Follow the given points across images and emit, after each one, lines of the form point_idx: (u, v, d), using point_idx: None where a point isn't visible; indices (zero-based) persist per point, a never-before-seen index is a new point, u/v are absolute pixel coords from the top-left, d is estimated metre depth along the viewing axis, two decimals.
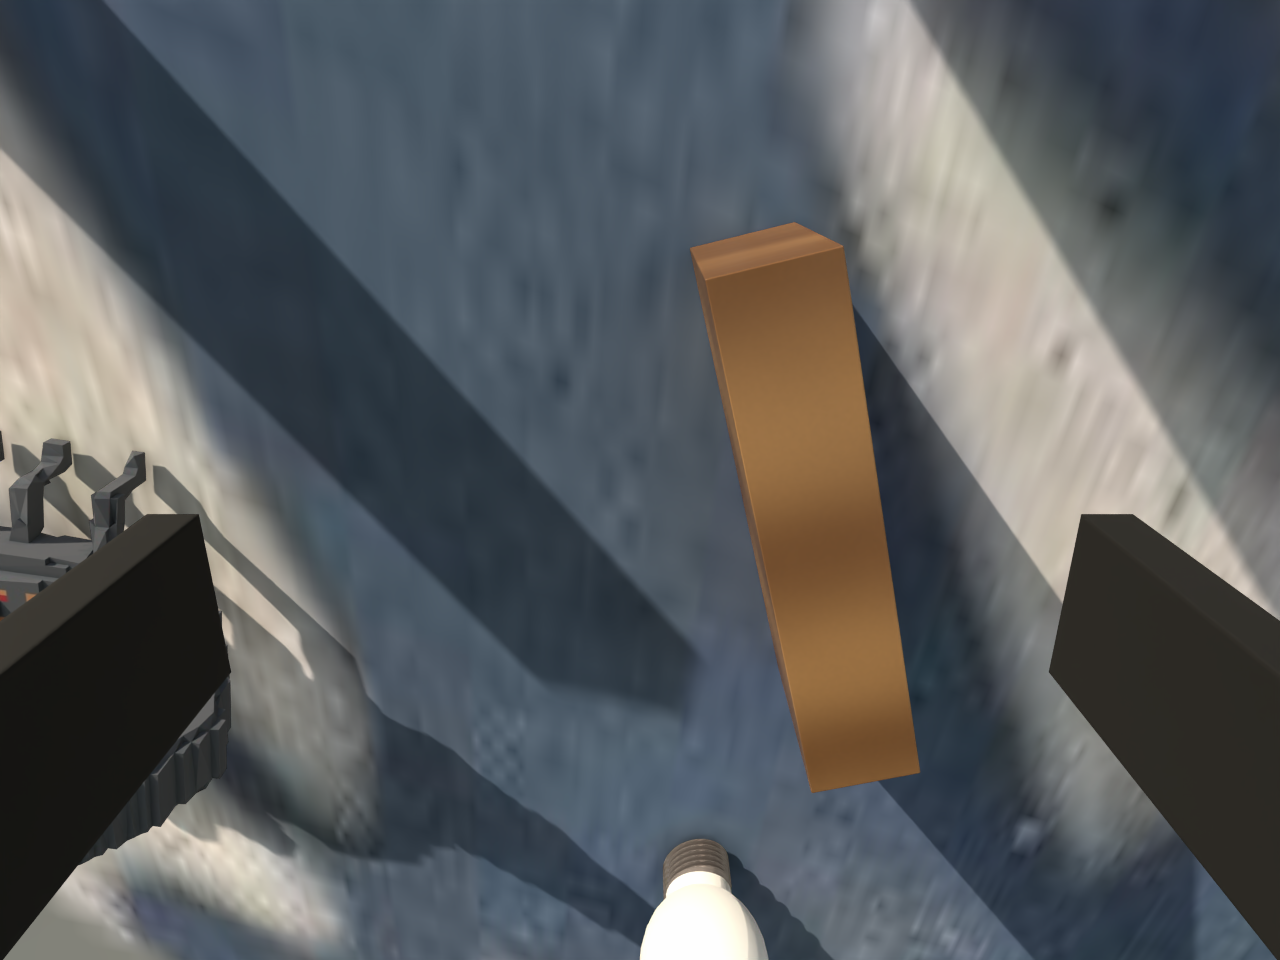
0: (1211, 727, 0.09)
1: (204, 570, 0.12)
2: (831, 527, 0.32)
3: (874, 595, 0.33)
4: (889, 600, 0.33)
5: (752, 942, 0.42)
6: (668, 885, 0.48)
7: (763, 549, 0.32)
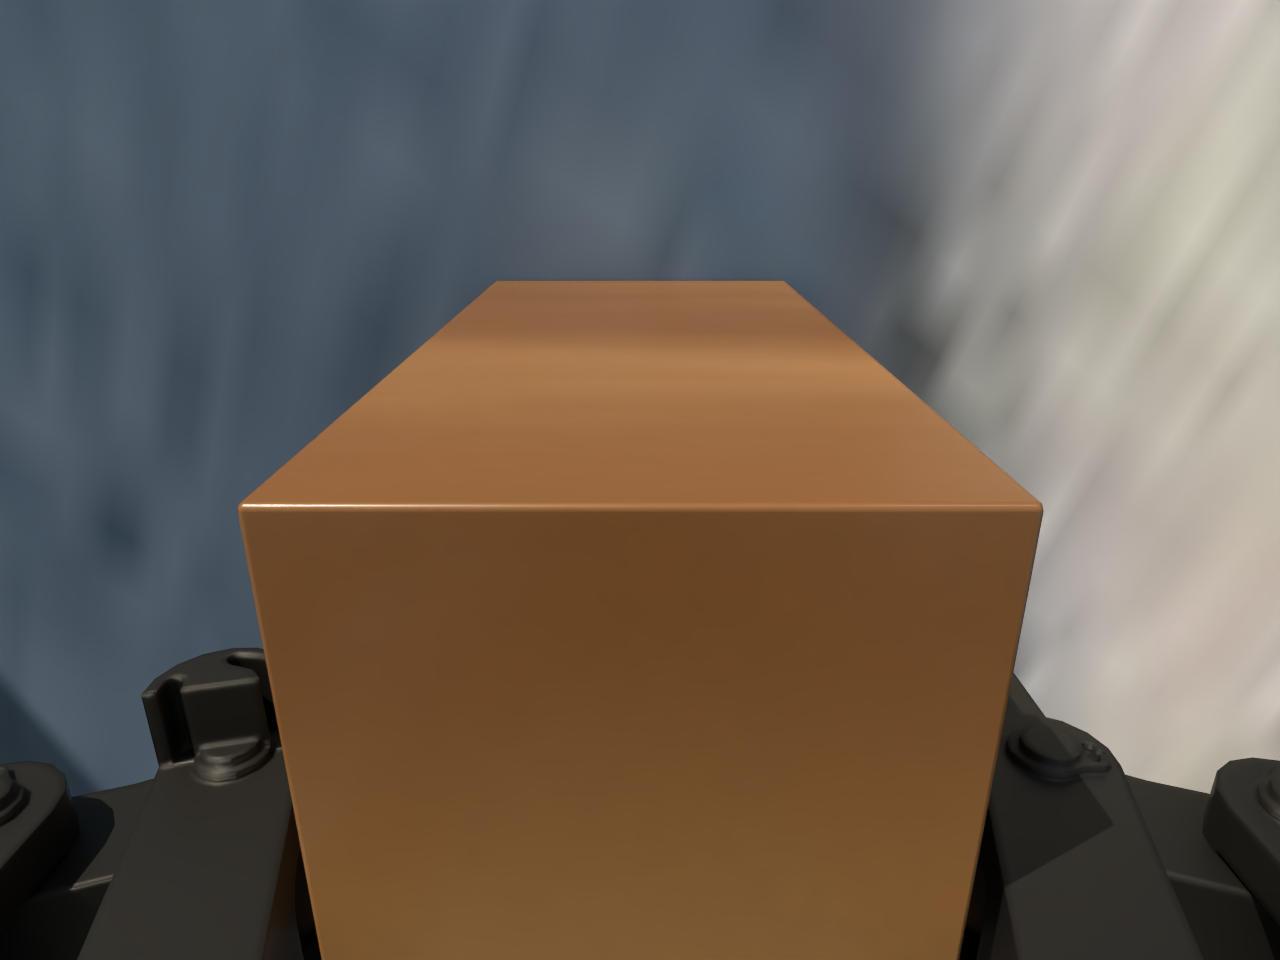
0: None
1: None
2: None
3: None
4: None
5: None
6: None
7: None
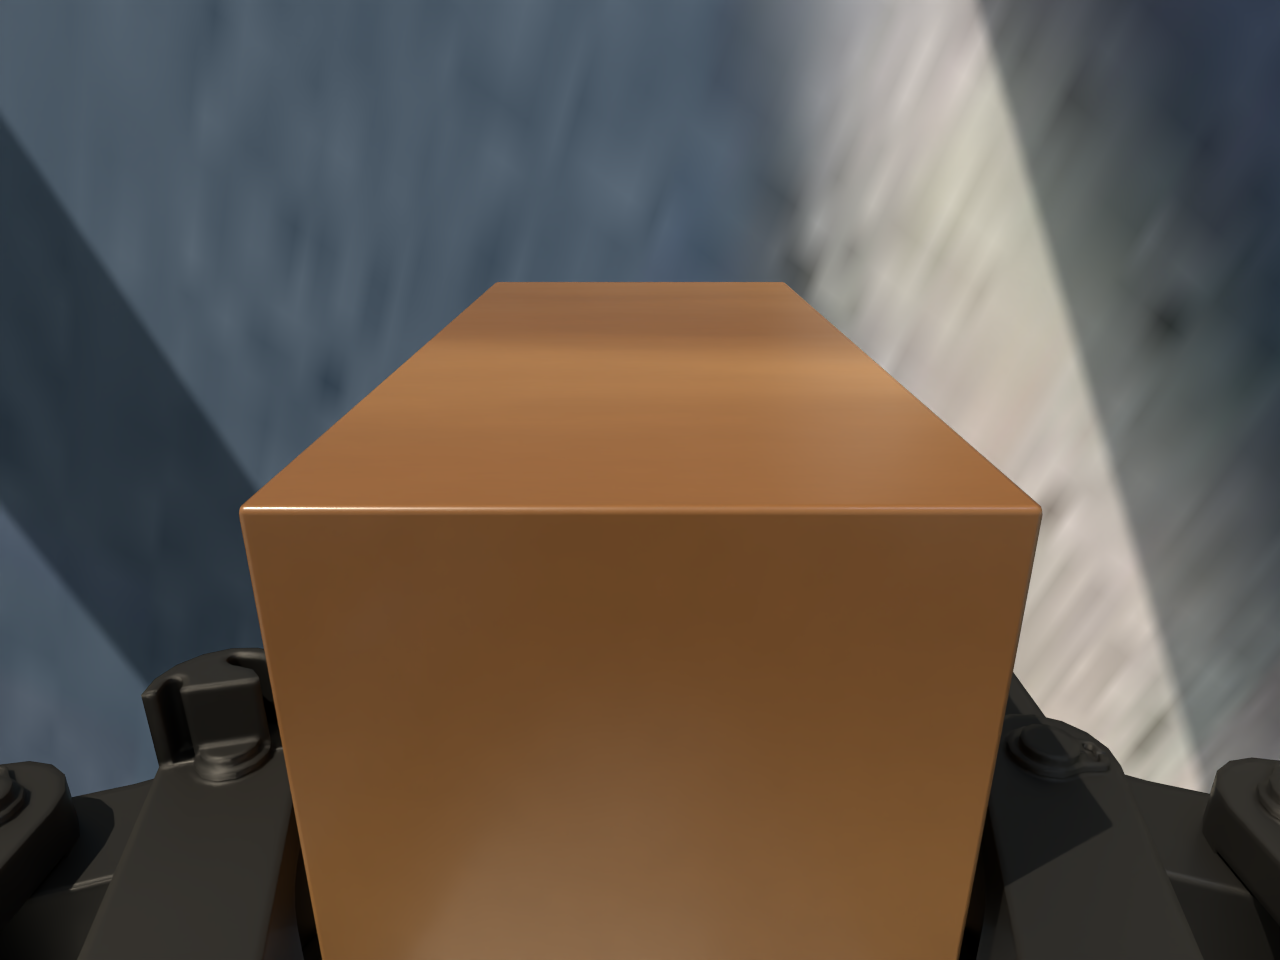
0: None
1: None
2: None
3: None
4: None
5: None
6: None
7: None
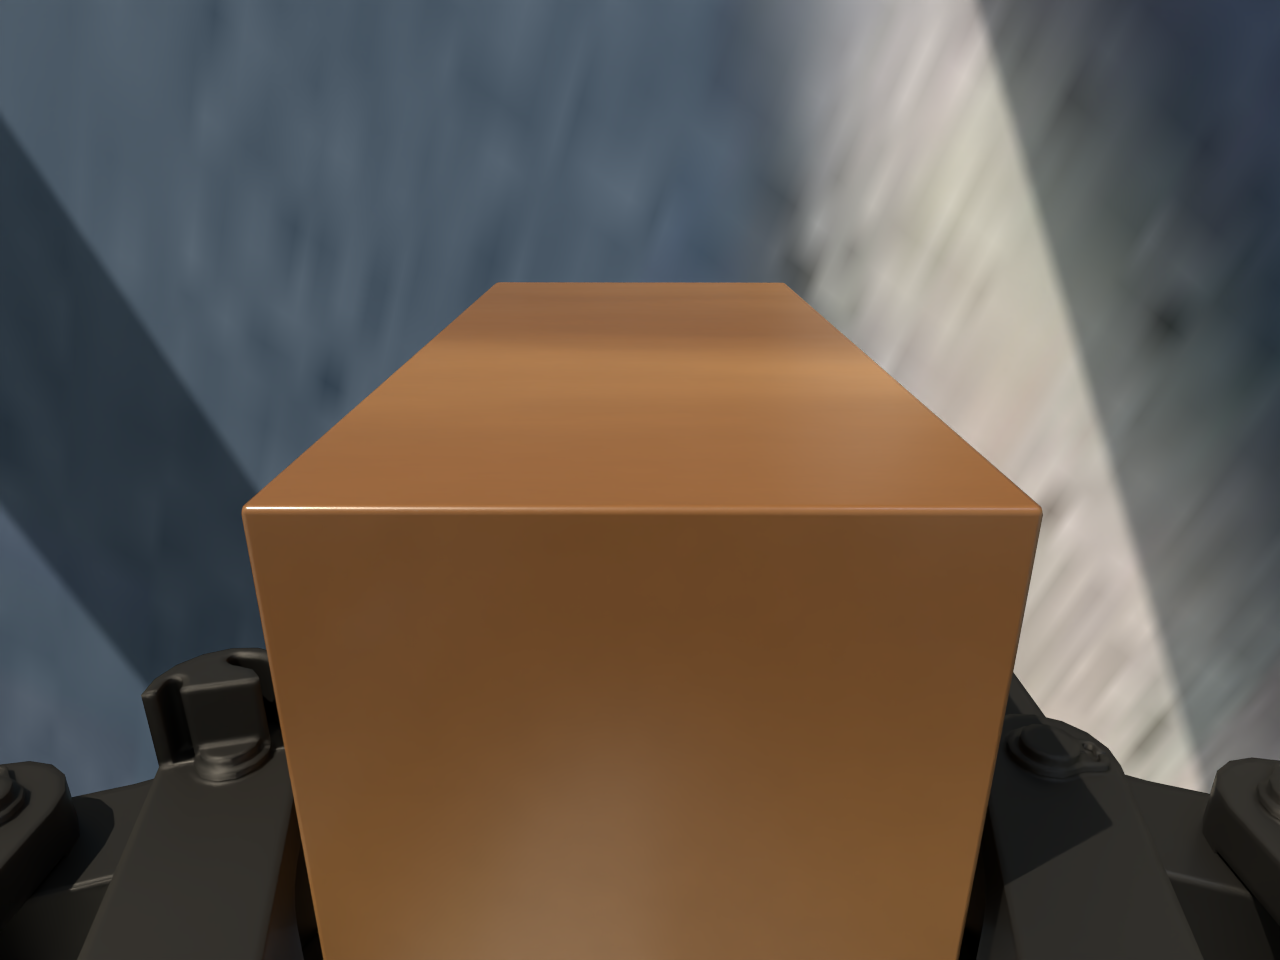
0: None
1: None
2: None
3: None
4: None
5: None
6: None
7: None
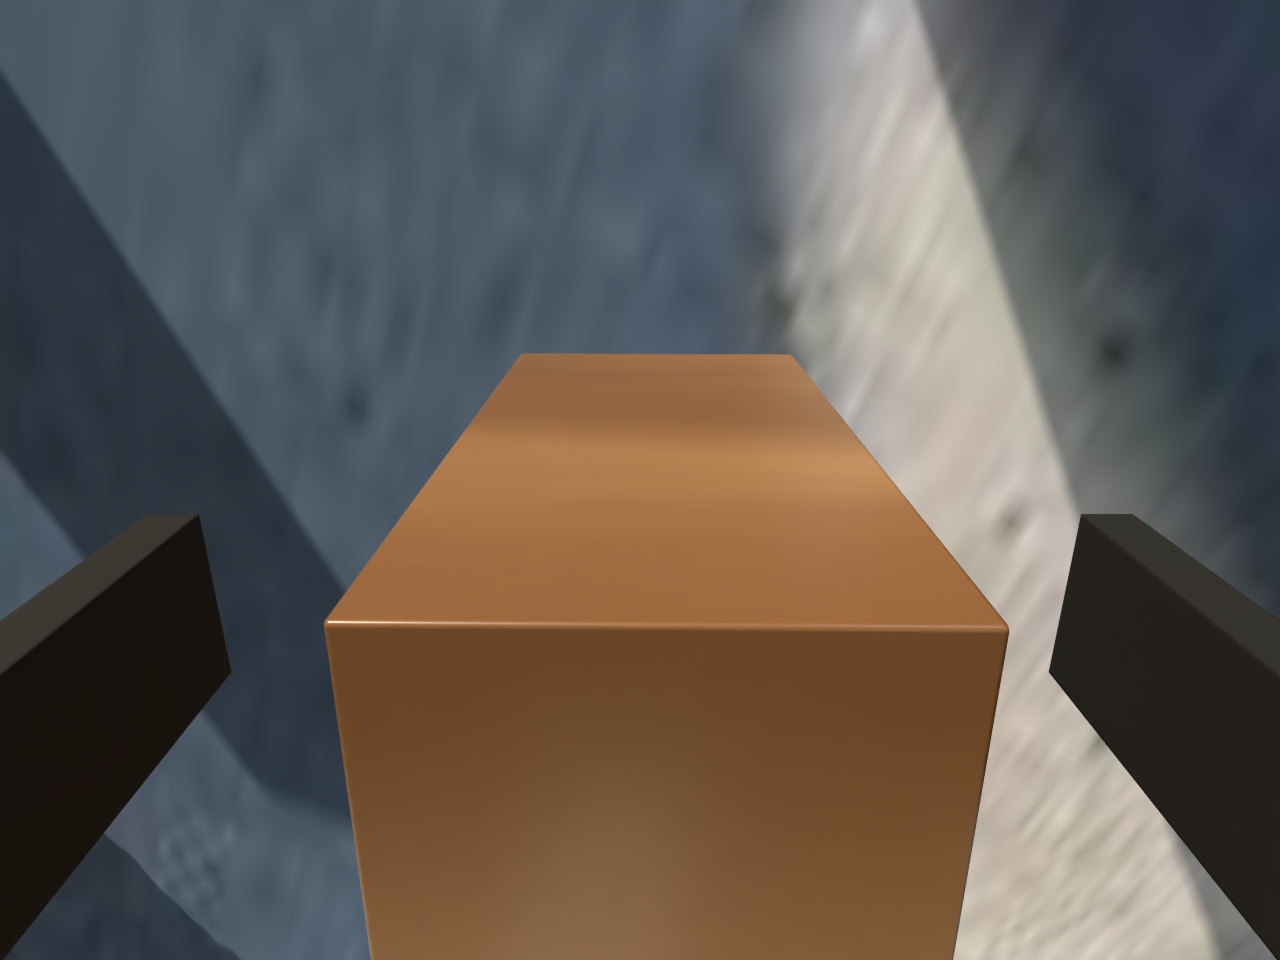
0: (1210, 727, 0.09)
1: (204, 571, 0.12)
2: None
3: None
4: None
5: None
6: None
7: None
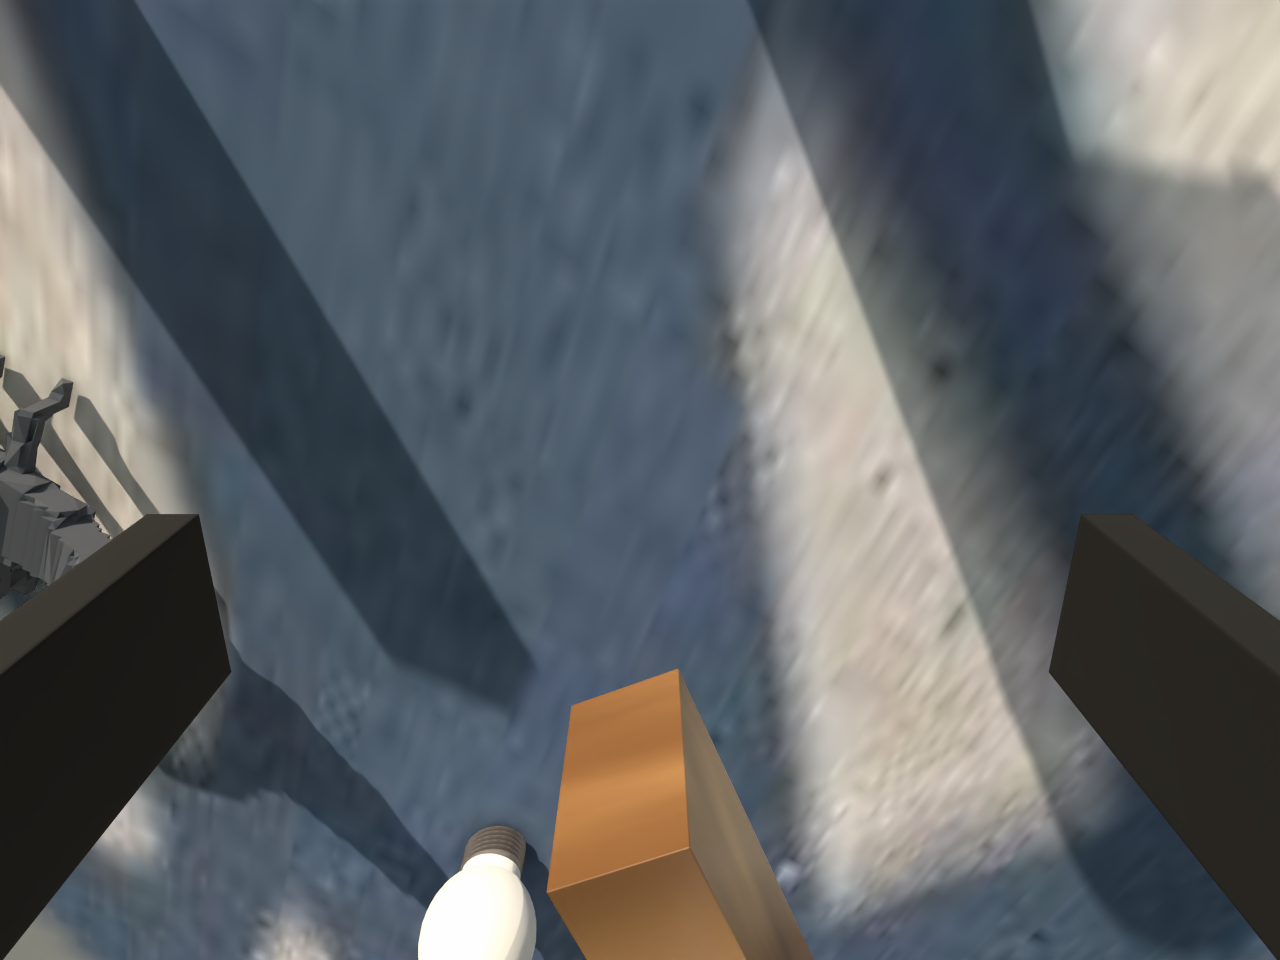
0: (1211, 727, 0.09)
1: (205, 570, 0.12)
2: None
3: None
4: None
5: (524, 922, 0.48)
6: (466, 861, 0.53)
7: None
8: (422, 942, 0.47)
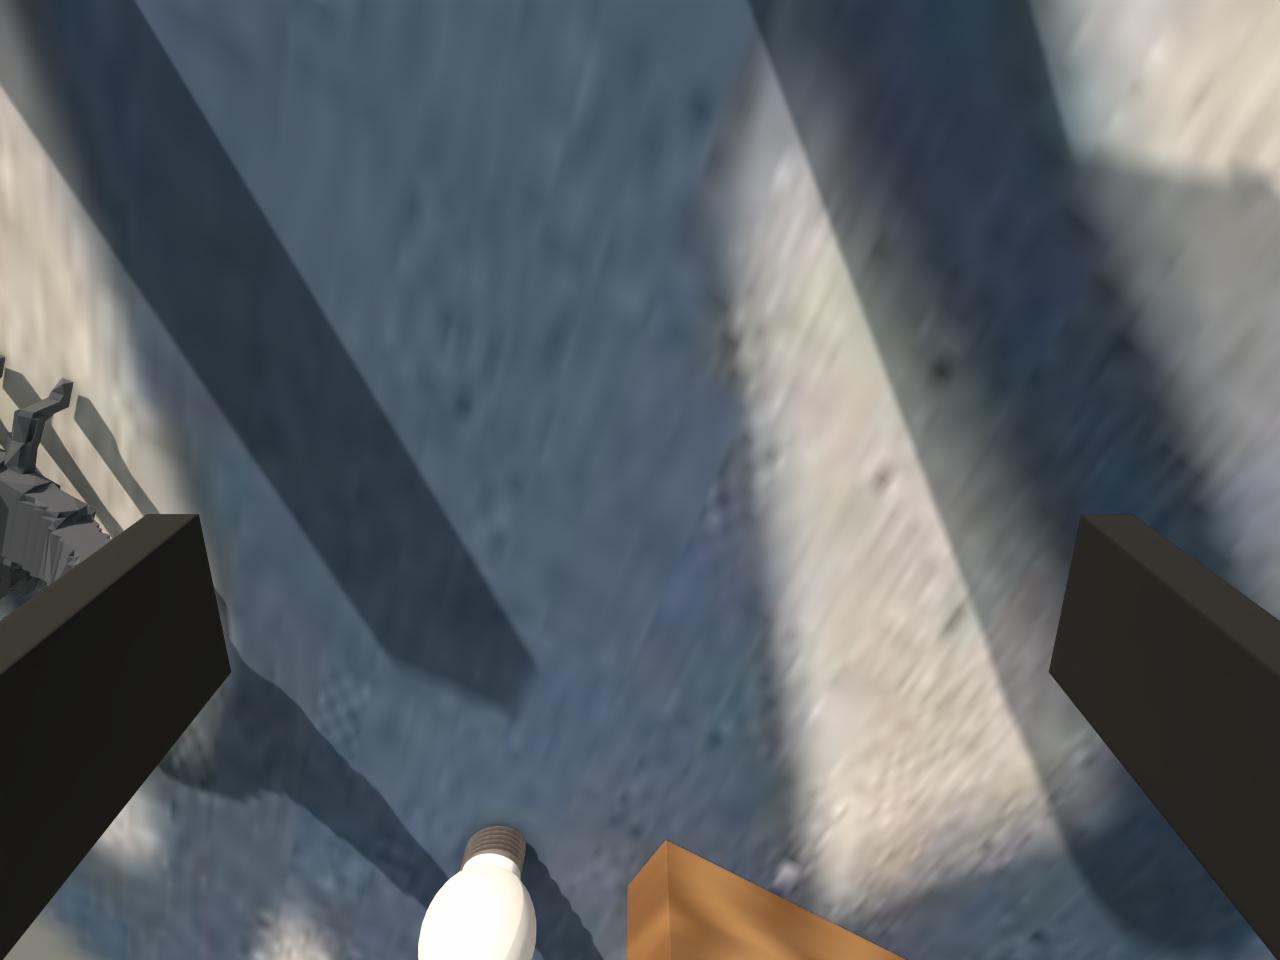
0: (1211, 727, 0.09)
1: (205, 570, 0.12)
2: None
3: None
4: None
5: (524, 922, 0.48)
6: (466, 861, 0.53)
7: None
8: (422, 942, 0.47)
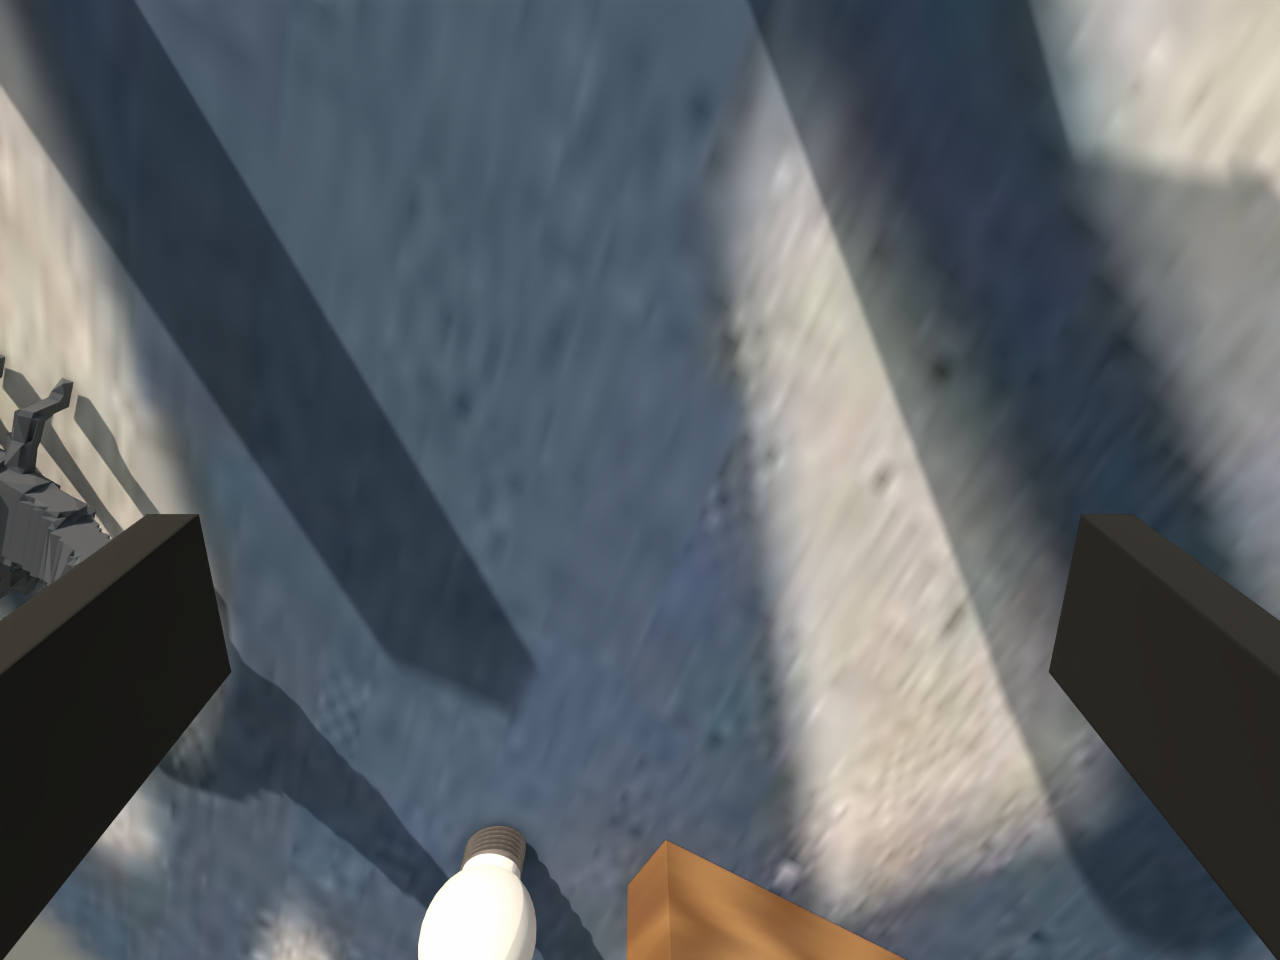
0: (1211, 727, 0.09)
1: (205, 570, 0.12)
2: None
3: None
4: None
5: (524, 922, 0.48)
6: (466, 861, 0.53)
7: None
8: (422, 942, 0.47)
